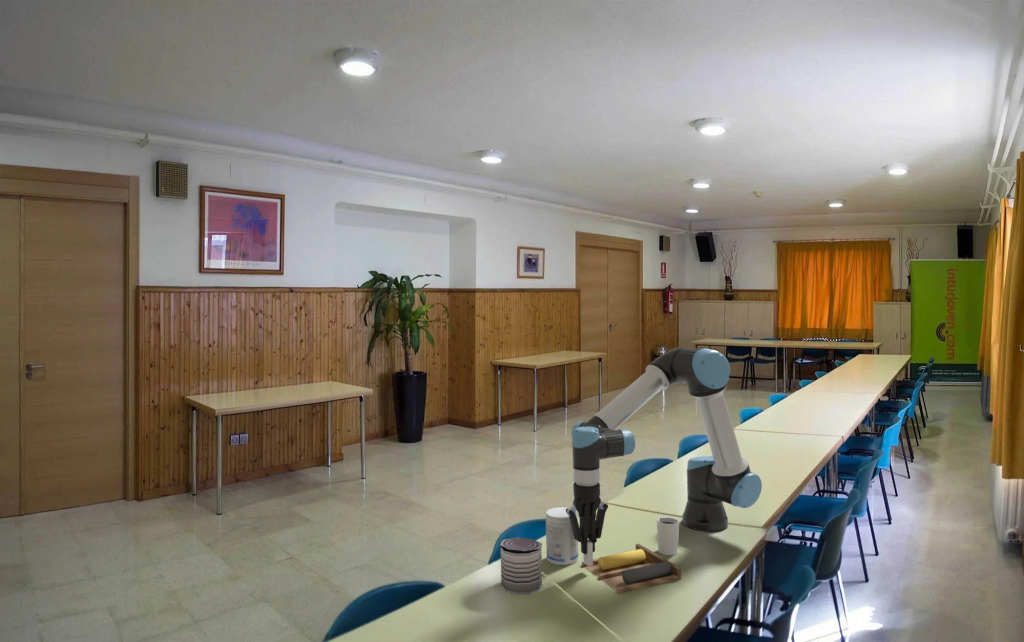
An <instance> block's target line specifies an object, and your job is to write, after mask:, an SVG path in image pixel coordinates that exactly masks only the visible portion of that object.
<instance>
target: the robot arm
mask: <svg viewBox="0 0 1024 642" xmlns="http://www.w3.org/2000/svg"><path fill="white" fill-rule="evenodd" d="M730 375H731V367H730V363H729V360H728V359H727V357H726V356H725V355H724V354H722V353H721V352H720V351H718V350H714V349H711V348H698V347H697V348H695V347H687V346H680V347H675V348H673V349H669V350H668V351H666V352H664V353H663V354H661V355H660V356H658V357H657V358H656V359H654V360H653V361H651V362H650V363H649V364H648V365H647V366H646V367H645V372H644V373H642V375H640V376H639V377H638V378H636V380H634V381H633V382H632V383H631V384H630V385H628V386H627V387H626V388H625V389H624V390H623V391H621V392H620V393H619V394H618V395H616V397H614V398H613V399H612V400H611V401H610V402H608V404H606V405H605V406H604V407H603V408H601V409H600V410H599V411H598V412H597V413H596V414H595V415H593V416H592V417H591V418H590V419H588V420H587V421H586V420H585V421H578V422H576V423H575V424H574V425H573V427H572V429H571V432H570V433H571V441H572V442H571V447H572V464H573V465H572V470H573V473H572V476H573V478H572V479H573V480H572V481H573V486H572V487H573V488H572V489H573V502H572V505H571V507H566V508H567V509H566V512H567V514H568V515H569V518H570V522H571V526H572V530H573V534H574V538H575V539H576V540H577V541H578V543H580V552H581V553H582V554H583V561H584V563H585V564H586V565H588V566H591V565H593V559H594V553H595V552H596V543H597V541H598V540H597V539H601V537H602V533H603V527H604V522H605V516H606V512H607V510H608V508H609V504H608V503H606V502H603V501H602V499H601V498H600V497H601V485H600V481H601V471H600V461H601V460H606V459H612V458H617V457H619V458H620V457H625V456H627V455H630V454H632V453H633V452H634V451H635V449H636V438H635V436H634V434H633V433H632V431H631V430H629V429H628V428H627V429H625V428H624V429H621V428H619V427H620V426H621V425H622V424H624V423H625V422H626V421H627V420H628V419H629V418H630V417H632V416H633V415H634V414H635V413H636V412H637V411H638V410H640V409H641V408H642V407H644V405H645V404H647V403H648V402H649V401H650V400H651V399H652V398H653V397H655V396H656V395H657V394H658V393H659V392H660V391H661V390H664V391H665V390H667V389H669V388H670V387H671V386H674V385H675V384H686V386H687V390H688V394H689V395H690V396H691V397H692V398H695V400H696V403H697V406H698V410H699V412H700V413H699V414H700V417H701V420H702V423H703V427H704V430H705V434H706V437H707V440H708V444H709V448H710V451H711V455H703V456H694V457H691V458H689V459H688V461H687V465H686V466H687V467H686V483H687V484H686V485H687V486H686V488H687V498H686V499H687V501H686V503H685V507H684V511H683V513H682V517H681V518H682V519H681V520H682V521H681V522H682V524H683V525H684V526H685V527H687V528H690V529H692V530H696V531H705V532H716V531H717V532H718V531H721V530H725V529H727V528H728V527H729V518H728V516H727V512H726V509H725V505H724V503H726V504H729V505H731V506H733V507H737V508H741V509H747V508H750V507H752V506H753V505H754V504H756V502H758V500H759V498H760V495H761V494H762V490H763V488H762V487H763V483H762V479H761V477H760V476H759V474H757V473H755V472H752V470H751V467H750V465H749V462H748V460H747V459H746V458H743V457H742V454H741V450H740V447H739V443H738V440H737V436H736V433H735V429H734V425H733V422H732V418H731V415H730V412H729V411H730V410H729V407H728V404H727V401H726V396H725V393H724V392H725V390H726V389H727V388H728V387H727V384H728V382H729V380H730ZM618 428H619V429H618ZM569 508H570V509H569ZM576 512H577V514H578V516H577V517H576ZM578 517H579V521H578Z"/></svg>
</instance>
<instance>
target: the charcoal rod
mask: <svg viewBox="0 0 1024 642" xmlns="http://www.w3.org/2000/svg"><path fill="white" fill-rule="evenodd" d="M667 561H668V560H667ZM667 561H666V562H661V563H657V564H652V565H648V566H643V567H638V568H634V569H629V570H625V571H623V573H622V578H623V581H624V582H625V584H632V583H636V582H641V581H645V580H649V579H654V578H658V577H663V576H667V575H670V574H671V573H672V568H671V565H670V564H669V562H670V561H669V562H667Z"/></svg>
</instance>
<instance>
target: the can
mask: <svg viewBox="0 0 1024 642" xmlns="http://www.w3.org/2000/svg"><path fill="white" fill-rule="evenodd" d="M542 545H543V543H542V542H540V541H538V540H535V539H534V538H533V539H532V538H524V537H513V538H505V539H503V540H501V542H500V543H499V546H500V576H501V577H500V583H501V584H500V585H501V587H502V589H503V590H504V591H505V592H506V593H507V592H508V593H511V594H513V595H530V594H533V593H535V592H538V591H540V589H541V587H542V585H543V558H542V557H543V555H542V554H543V553H542V551H543V550H542Z"/></svg>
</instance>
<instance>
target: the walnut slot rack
mask: <svg viewBox="0 0 1024 642" xmlns="http://www.w3.org/2000/svg"><path fill="white" fill-rule="evenodd" d="M639 549H642V550H643V551H644V553H645V556H646V559H645V561H644V562H640V563H636V564H631V565H626V566H622V567H617V568H612V569H607V570H601V569H600V567H599V564H598V559H599V558H600V557H598V558H593V565H591V566H588V565H586V564H585V563H584V560H582V562H581V566H582V567H583V568H585V569H586V570H587V571H588V572H590V573H592V574H593V575H594V576H595V577H597V578H598V579H600V581H602V582H604V583H605V584H606V585H607V586H609V587H610V588H612V589H613V590H615V591H616V592H617V593H619V594H624V593H627V592H632V591H636V590H640V589H644V588H648V587H654V586H657V585H662V584H666V583H670V582H674V581H679V580H681V579H682V568H681V567H679V566H678V565H676V564H674V563H672V562H671V561H669V560H667V559H666V558H664V557H662V556H661V555H660V554H657V553H656V552H654V551H652V550H651V549H648V548H647V547H645V546H644V545H642V544H640V543H635V550H639ZM666 561H667V562H669V564H670V565H671V568H672V573H671V574H670V575H667V576H663V577H658V578H654V579H649V580H645V581H641V582H636V583H632V584H625V582H624V581H623V578H622V573H623V571H625V570H629V569H634V568H638V567H643V566H648V565H652V564H657V563H661V562H666Z"/></svg>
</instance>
